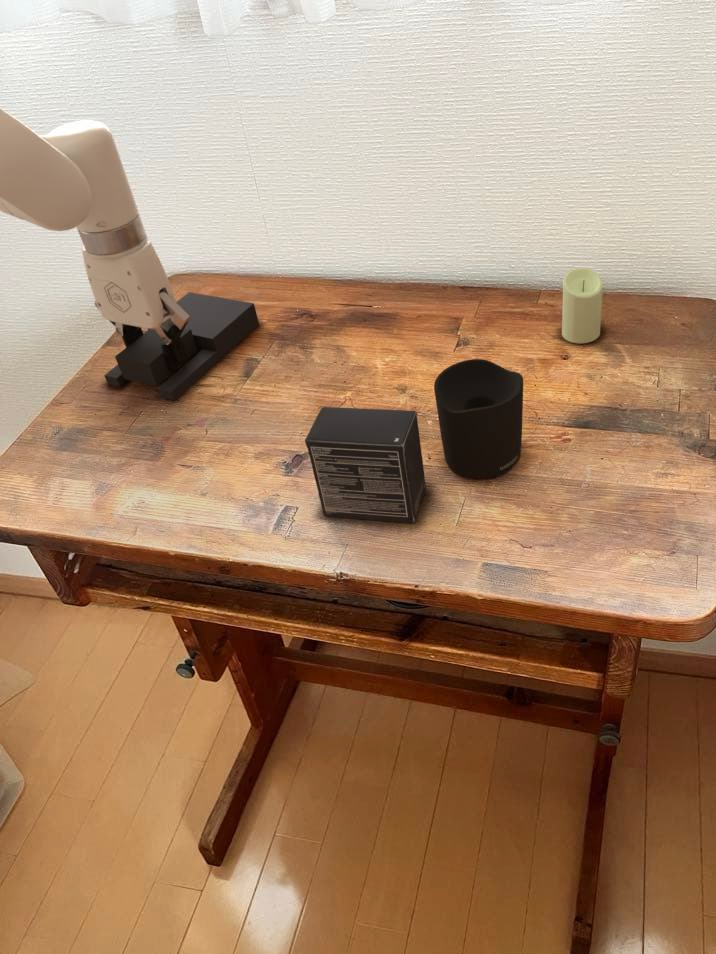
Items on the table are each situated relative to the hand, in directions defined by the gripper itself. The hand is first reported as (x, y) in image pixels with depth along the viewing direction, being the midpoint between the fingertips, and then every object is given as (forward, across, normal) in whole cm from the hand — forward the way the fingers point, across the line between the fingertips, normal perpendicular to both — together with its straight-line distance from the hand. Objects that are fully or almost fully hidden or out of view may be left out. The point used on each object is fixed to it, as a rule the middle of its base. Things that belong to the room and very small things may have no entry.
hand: (159, 359), depth 114 cm
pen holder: (+2, +49, -2) cm, 49 cm away
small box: (+2, +41, -13) cm, 43 cm away
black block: (+1, 0, 0) cm, 1 cm away
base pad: (+2, 0, +5) cm, 5 cm away
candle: (+2, +51, +26) cm, 57 cm away
